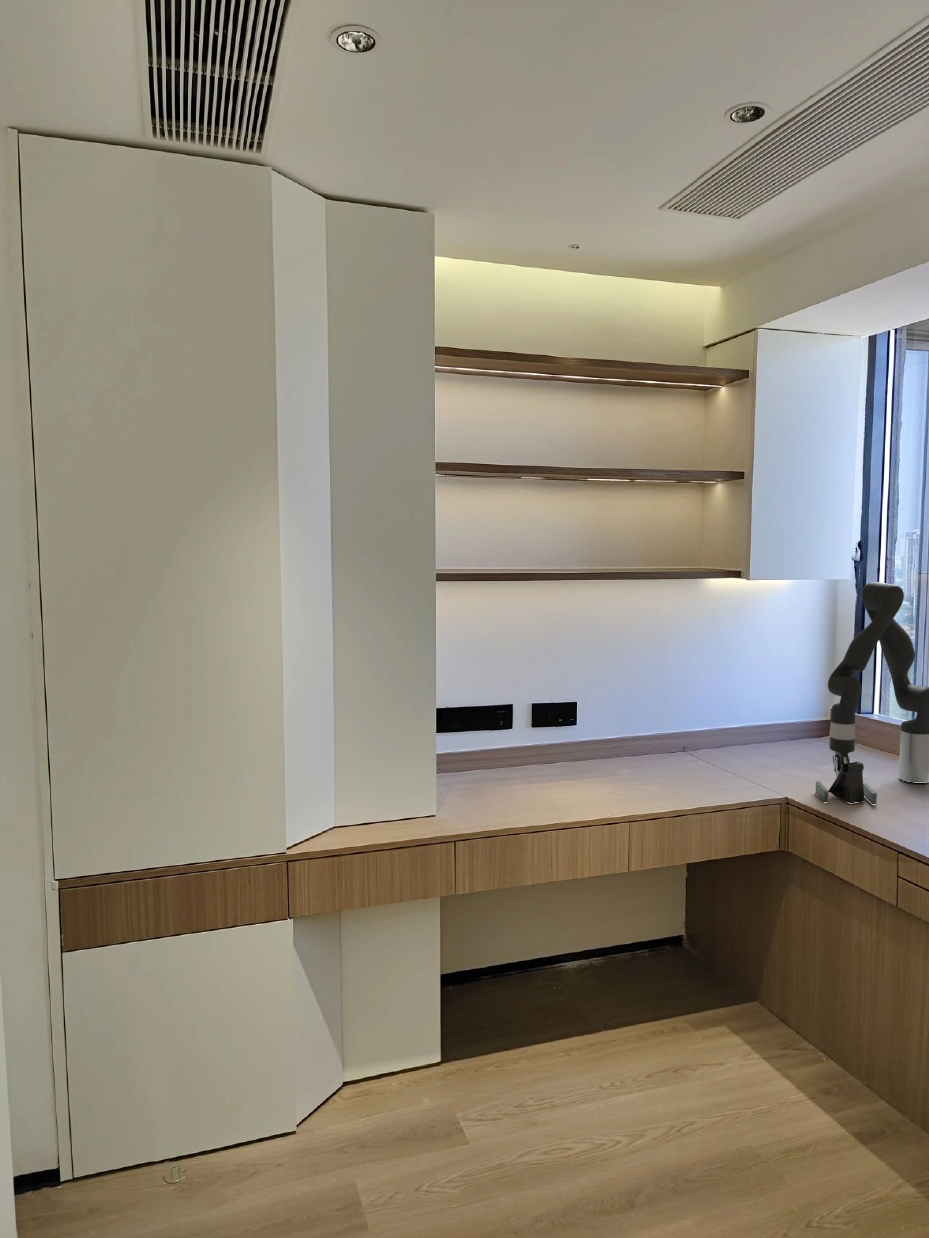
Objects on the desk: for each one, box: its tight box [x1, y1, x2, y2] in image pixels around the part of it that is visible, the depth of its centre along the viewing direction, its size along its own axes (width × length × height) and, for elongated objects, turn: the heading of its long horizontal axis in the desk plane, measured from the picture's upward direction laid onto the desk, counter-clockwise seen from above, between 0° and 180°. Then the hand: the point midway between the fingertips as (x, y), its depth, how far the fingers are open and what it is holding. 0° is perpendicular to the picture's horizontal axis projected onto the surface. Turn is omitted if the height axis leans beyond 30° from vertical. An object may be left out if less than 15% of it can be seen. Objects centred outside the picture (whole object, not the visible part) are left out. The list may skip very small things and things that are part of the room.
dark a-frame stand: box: [828, 761, 865, 803], centre depth 261 cm, size 9×6×12 cm, turn 21°
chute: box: [815, 780, 878, 805], centre depth 263 cm, size 11×15×4 cm
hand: (840, 787), depth 268 cm, fingers closed
